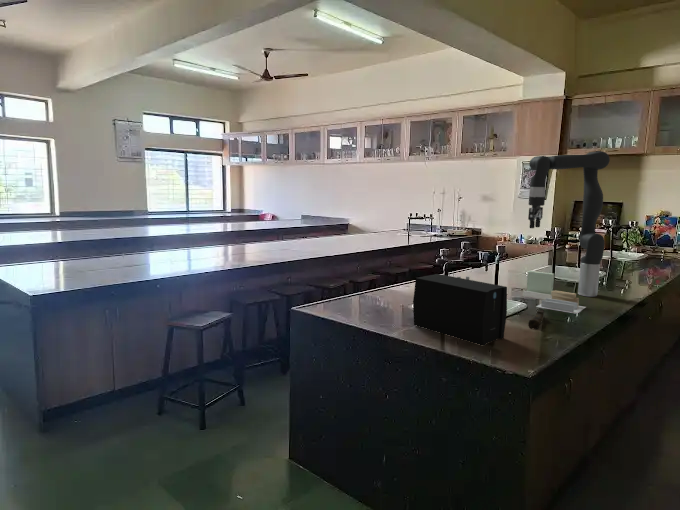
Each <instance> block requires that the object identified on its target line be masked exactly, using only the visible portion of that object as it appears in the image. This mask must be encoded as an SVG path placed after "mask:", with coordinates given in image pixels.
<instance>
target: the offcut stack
mask: <svg viewBox="0 0 680 510" xmlns="http://www.w3.org/2000/svg"><path fill="white" fill-rule="evenodd" d="M551 296H552V299H556V300H563V301H569V302H575V303H578V306H580V305H579V304H580V302H579V301H580V298H579V297H577V293H573V292H568V291H567V292H566V291H561V290H556V289H555V290H554V289H553V291H552V292H551Z"/></svg>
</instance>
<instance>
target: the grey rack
mask: <svg viewBox="0 0 680 510" xmlns="http://www.w3.org/2000/svg"><path fill="white" fill-rule="evenodd" d="M535 307H536V308H540V309H545V310H546V309H548V310H553V311H560V312H564V313H571V314H575V315H576V314H579V313H581V312H582V311H583V310H584V309H586V308H587V306H582V305H579V306H578V303H575V302H569V301H563V300H556V299H550V298H546V300H541V303H540V304H538V305H536V306H535Z"/></svg>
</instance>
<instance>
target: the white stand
mask: <svg viewBox="0 0 680 510" xmlns="http://www.w3.org/2000/svg"><path fill="white" fill-rule="evenodd" d="M522 297H524V298H528V299H529V298H530V299H535V300H541V301H542V300H545V301H546V298H550V299H552V296H551V295H550V294H544V293H537V292H531V291H526V290H522Z"/></svg>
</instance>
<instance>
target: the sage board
mask: <svg viewBox="0 0 680 510" xmlns="http://www.w3.org/2000/svg"><path fill="white" fill-rule="evenodd" d="M526 279H527V280H526V290H525V291H531V292H537V293H544V294H550V295H551V292H552V291H554V282H555V281H554V280H555V273H552V272H551V273H550V272H542V271H535V270H528V271H527V278H526Z"/></svg>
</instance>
